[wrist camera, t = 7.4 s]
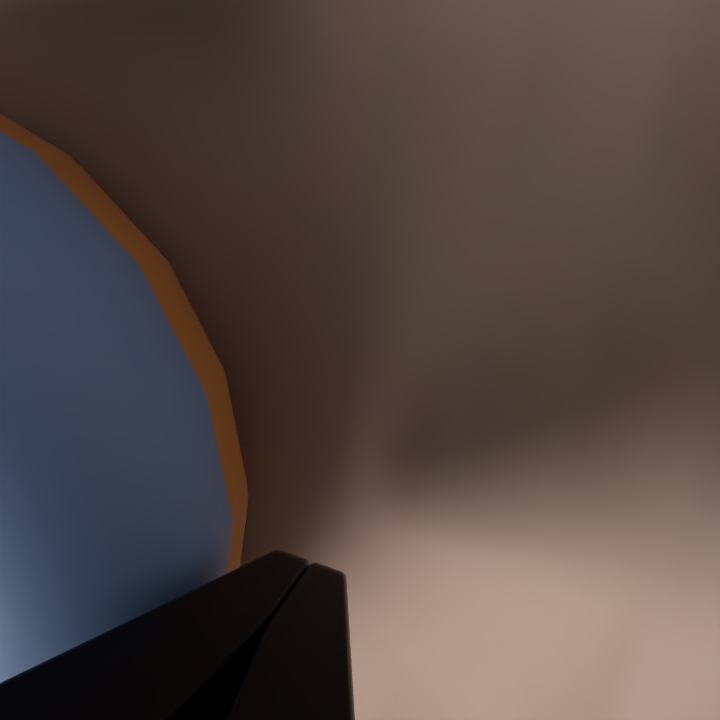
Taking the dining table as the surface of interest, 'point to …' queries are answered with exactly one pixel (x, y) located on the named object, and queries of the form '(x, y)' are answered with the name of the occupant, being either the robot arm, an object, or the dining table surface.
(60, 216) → the doughnut
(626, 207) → the dining table surface
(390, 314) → the dining table surface
